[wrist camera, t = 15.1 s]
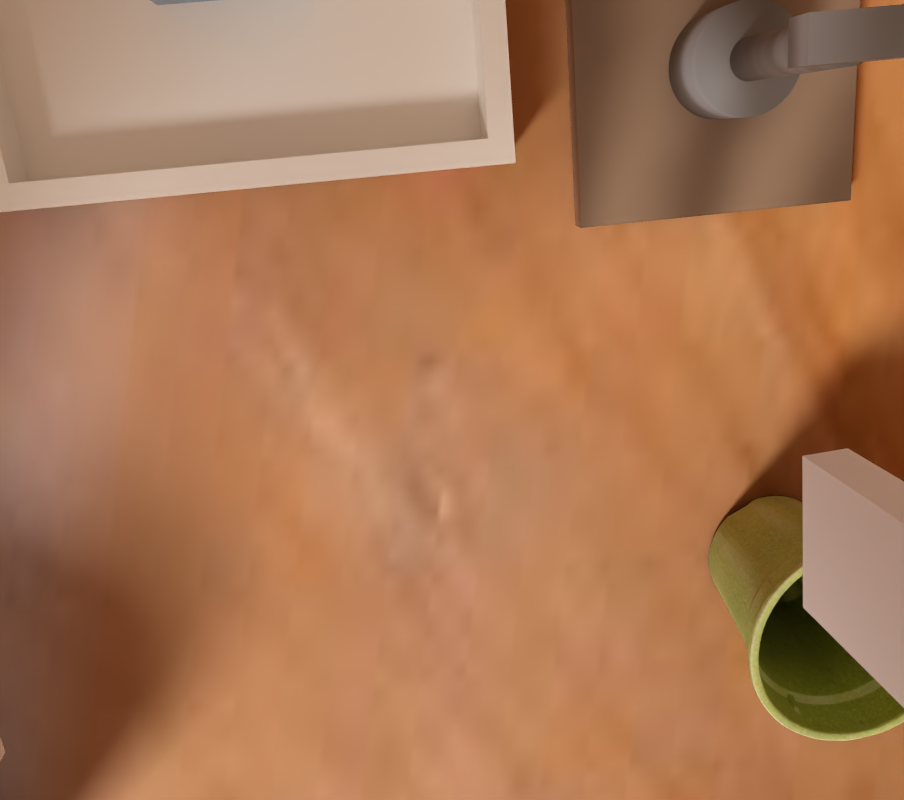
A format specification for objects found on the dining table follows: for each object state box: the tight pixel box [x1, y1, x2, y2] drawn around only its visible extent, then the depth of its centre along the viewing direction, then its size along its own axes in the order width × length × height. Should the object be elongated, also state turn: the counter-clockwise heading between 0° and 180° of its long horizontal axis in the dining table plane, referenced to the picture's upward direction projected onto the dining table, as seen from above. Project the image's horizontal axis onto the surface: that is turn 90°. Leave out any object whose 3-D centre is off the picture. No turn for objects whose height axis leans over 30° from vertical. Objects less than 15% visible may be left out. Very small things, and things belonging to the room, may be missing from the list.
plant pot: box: [709, 496, 904, 741], centre depth 39 cm, size 9×9×9 cm
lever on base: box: [566, 0, 904, 228], centre depth 30 cm, size 12×12×12 cm
